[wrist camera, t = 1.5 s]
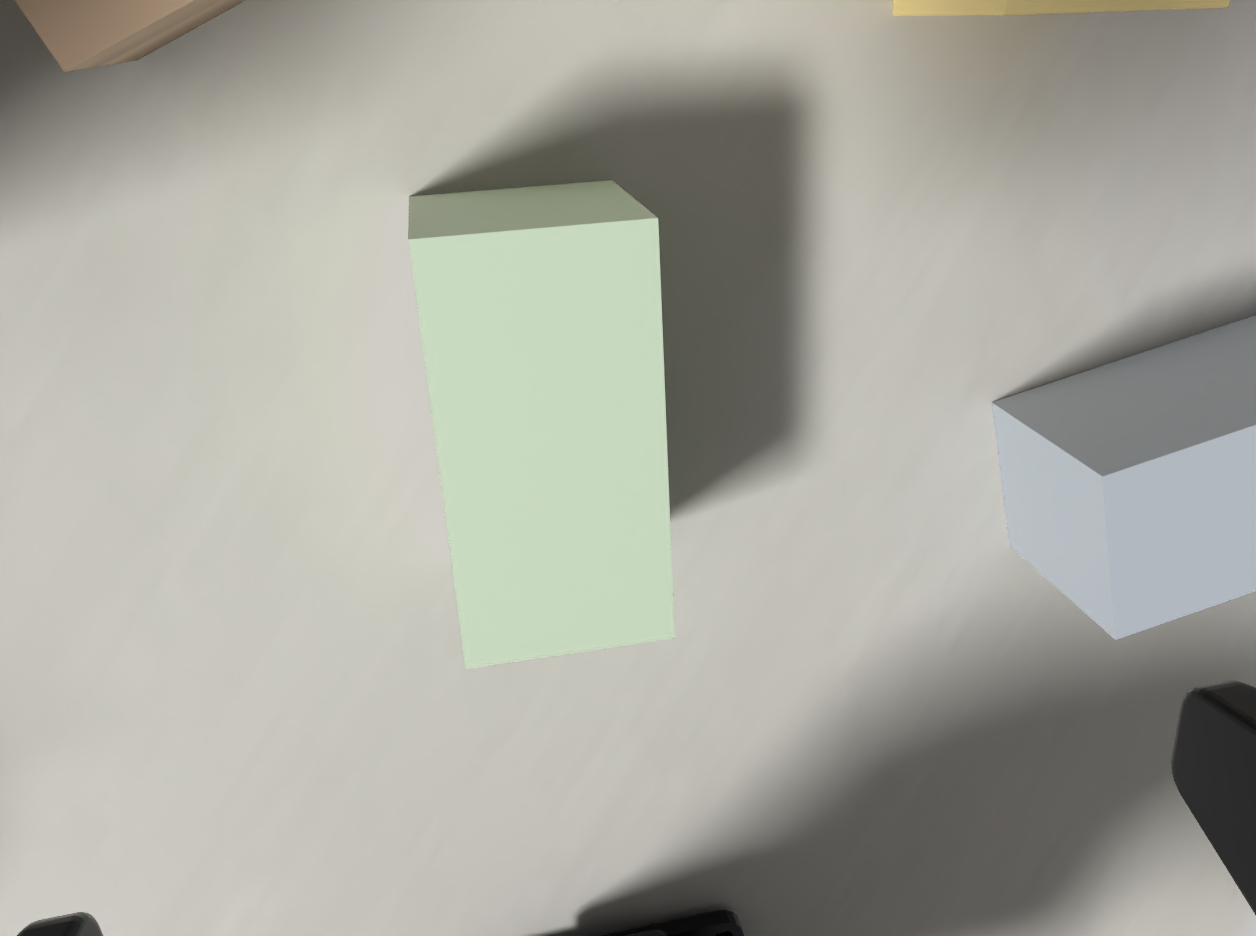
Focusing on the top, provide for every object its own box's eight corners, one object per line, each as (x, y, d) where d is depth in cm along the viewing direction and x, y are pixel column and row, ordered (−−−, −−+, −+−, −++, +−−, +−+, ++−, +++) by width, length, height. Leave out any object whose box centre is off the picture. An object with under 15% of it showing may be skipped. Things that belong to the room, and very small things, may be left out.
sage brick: (630, 533, 22) (674, 638, 18) (456, 556, 21) (465, 669, 17) (610, 179, 19) (658, 218, 15) (409, 194, 18) (408, 239, 15)
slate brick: (1298, 297, 22) (1470, 352, 19) (1297, 444, 24) (1455, 521, 20) (988, 399, 22) (1102, 476, 18) (1005, 543, 23) (1115, 640, 20)
